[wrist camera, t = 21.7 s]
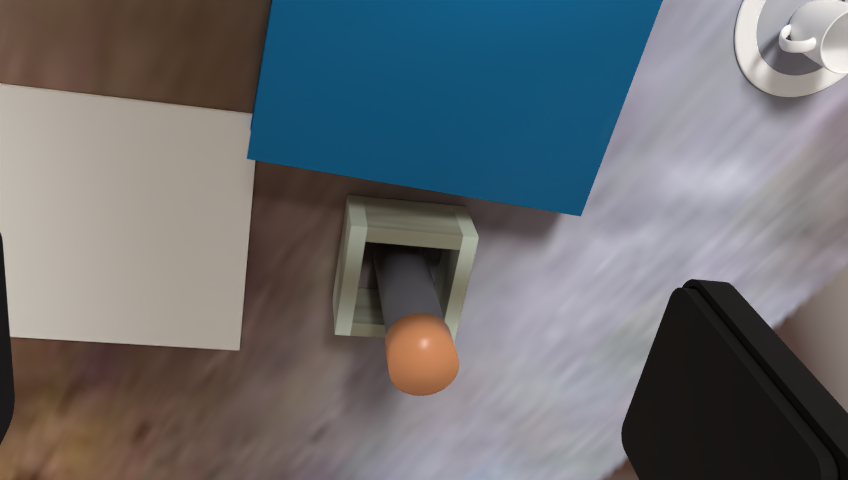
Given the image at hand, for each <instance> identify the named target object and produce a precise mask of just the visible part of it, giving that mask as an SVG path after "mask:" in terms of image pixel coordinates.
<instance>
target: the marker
mask: <svg viewBox="0 0 848 480" xmlns="http://www.w3.org/2000/svg"><path fill="white" fill-rule="evenodd" d="M374 263H375V269H376V275H377V281H378V287H379V293H380V300H381V306H382V312H383V318H384V324H385V330H386V337H385V351H386V357H387V364H388V370H389V376H390V379H391V381H392V382H393V384H394V385H395V386H396V387H397V388H398V389H399V390H401V391H403V392H405V393H407V394H411V395H417V396H424V395H430V394H434V393H437V392H439V391H441V390H443V389H444V388H446V387H447V386H448V385H449V384H450V383H451V382H452V381H453V380H454V378H455V377H456V375H457V372H458V369H459V360H458V356H457V353H456V349H455V346H454V342H453V339H452V335H451V332H450V329H449V327H448V325H447V324H446V323H445V322H444V319H443V315H442V311H441V308H440V304H439V301H438V297H437V294H436V290H435V286H434V283H433V279H432V276H431V272H430V268H429V265H428V261H427V258H426V254H425V251H424V247H420V246H409V245H398V244H387V243H378V244H377V246H376V248H375V251H374Z"/></svg>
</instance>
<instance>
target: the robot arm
mask: <svg viewBox="0 0 848 480" xmlns="http://www.w3.org/2000/svg"><path fill="white" fill-rule="evenodd" d="M14 402H15V394H14V381H13V368H12V355H11V342H10V329H9V316H8V303H7V290H6V277H5V264H4V251H3V240H2V235H1V233H0V445H1V442H2V440H3V438H4V436H5V434H6V432H7V430H8V428H9V425H10V423H11V419H12V416H13V410H14ZM621 435H622V444H623V448H624V450H625V452H626V454H627V456H628V458H629V460H630V462H631V464H632V466H633V468H634V470H635V472H636V474H637V476H638V478H639V480H848V413H847V412H846V411H845V410H844V409H843V408H842V406H841V405H840V404H839V403H838V402H837V401H836V400H835V399H834V398H833V396H832V395H831V394H830V393H829V392H828V391H827V390H826V389H825V388H824V386H823V385H822V384H821V383H820V382H819V381H818V380H817V379H816V378H815V376H814V375H813V374H812V373H811V372H810V371H809V370H808V369H807V368H806V367H805V365H804V364H803V363H802V362H801V361H800V360H799V359H798V358H797V357H796V355H794V353H793V352H792V351H791V350H790V349H789V348H788V347H787V345H786V344H785V343H784V342H783V341H782V340H781V339H780V338H779V337H778V335H777V334H775V332H774V331H773V330H772V329H771V328H770V327H769V325H768V324H767V323H766V322H765V321H764V320H763V319H762V318H761V317H760V315H759V314H758V313H757V312H756V311H755V310H754V309H753V308H752V307H751V305H750V304H749V303H748V302H747V301H746V300H745V299H744V298H743V297H742V296H741V294H740V293H739V292H738V291H737V290H736V289H735V288H734V287H733V286H732V285H731V284H730V283H727V282H718V281H707V280H695V279H691V280H689V281H687V282H686V283H685V284H684V285H683V287H682V288H677V289H675V290H674V291H673V292H672V294H671V297H670V299H669V302H668V304H667V307H666V310H665V312H664V315H663V318H662V320H661V323H660V326H659V328H658V331H657V334H656V337H655V339H654V342H653V345H652V347H651V350H650V353H649V355H648V358H647V361H646V363H645V366H644V369H643V371H642V374H641V377H640V379H639V382H638V385H637V388H636V390H635V393H634V396H633V398H632V401H631V404H630V406H629V409H628V412H627V414H626V417H625V420H624V422H623V426H622V433H621Z"/></svg>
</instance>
